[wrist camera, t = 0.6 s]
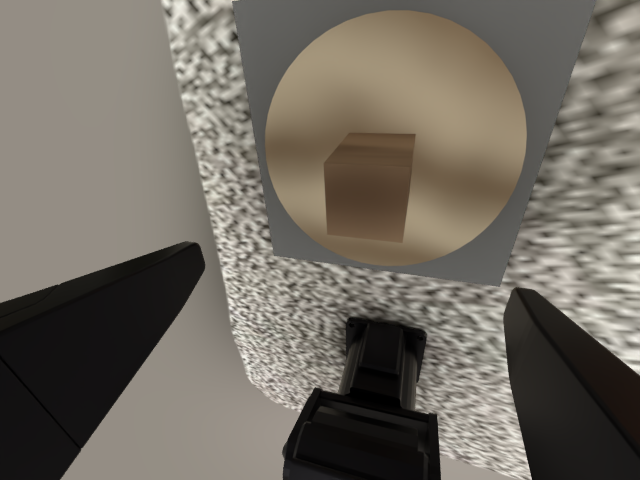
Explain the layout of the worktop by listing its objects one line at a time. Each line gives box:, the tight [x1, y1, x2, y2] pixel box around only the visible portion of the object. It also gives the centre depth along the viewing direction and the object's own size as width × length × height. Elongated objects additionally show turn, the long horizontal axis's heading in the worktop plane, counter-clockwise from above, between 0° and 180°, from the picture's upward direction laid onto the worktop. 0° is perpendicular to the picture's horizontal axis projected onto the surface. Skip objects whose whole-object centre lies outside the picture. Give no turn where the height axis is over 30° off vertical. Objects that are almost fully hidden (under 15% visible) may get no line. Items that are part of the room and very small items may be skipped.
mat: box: [232, 0, 596, 287], centre depth 18 cm, size 16×16×1 cm
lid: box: [265, 10, 527, 266], centre depth 16 cm, size 14×14×6 cm
